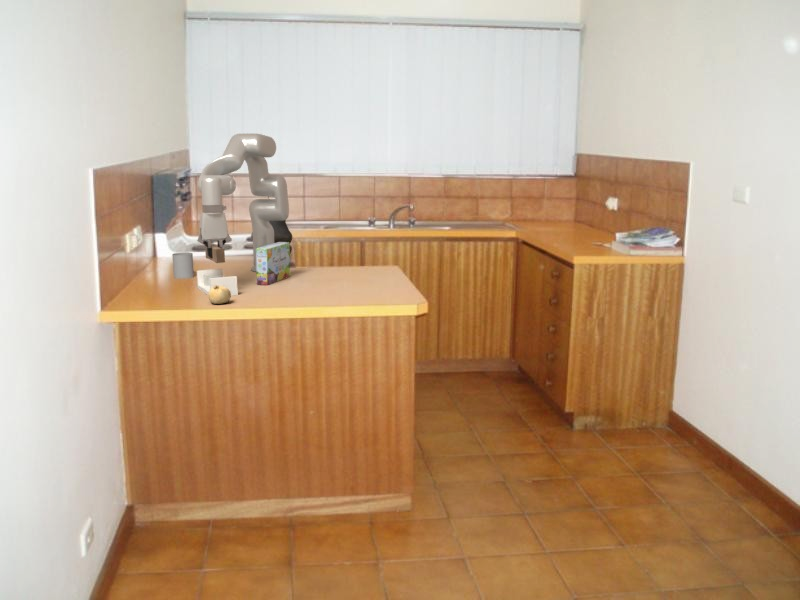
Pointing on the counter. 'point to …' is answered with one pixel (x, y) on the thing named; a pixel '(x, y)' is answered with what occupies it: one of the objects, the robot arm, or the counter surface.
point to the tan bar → (216, 254)
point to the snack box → (273, 262)
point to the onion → (219, 294)
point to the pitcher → (280, 232)
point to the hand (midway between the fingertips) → (215, 257)
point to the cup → (183, 265)
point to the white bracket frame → (215, 280)
